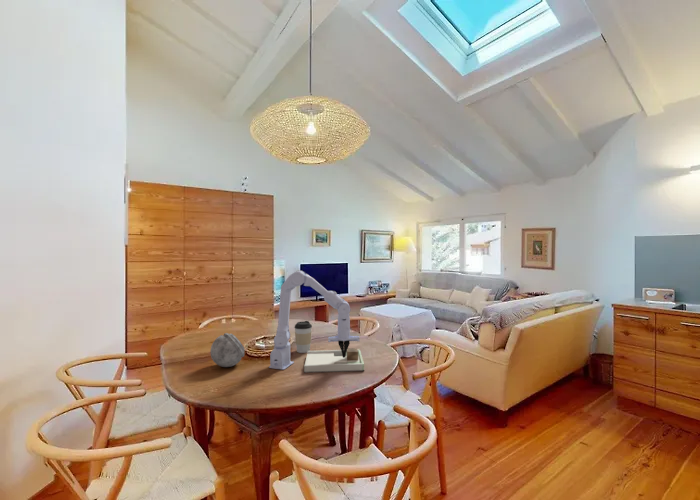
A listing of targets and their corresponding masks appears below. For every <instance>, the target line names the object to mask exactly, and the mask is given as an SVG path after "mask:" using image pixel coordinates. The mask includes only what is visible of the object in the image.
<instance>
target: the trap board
mask: <svg viewBox="0 0 700 500" xmlns="http://www.w3.org/2000/svg"><path fill="white" fill-rule="evenodd" d="M362 355H363V354H362V352H361V349H358V360H351V361H347V351H346V356H345V357H344V358H343V356H342V351H341V349H332V350H331V349H327V350H323V349H322V350H310V351H307V354H306V357H305V358H306V359H305V362H304V365H303V373H305V374H307V373H333V372H334V373H339V372H340V373H342V372H346V373H347V372H364V371H365V363H364V358H363V356H362Z"/></svg>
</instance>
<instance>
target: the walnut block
mask: <svg viewBox="0 0 700 500" xmlns="http://www.w3.org/2000/svg"><path fill="white" fill-rule="evenodd" d="M358 350H359V349H358V348H357V347H351V348H349V347H348V349H347V361H351V360H358Z"/></svg>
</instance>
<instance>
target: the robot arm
mask: <svg viewBox="0 0 700 500" xmlns="http://www.w3.org/2000/svg"><path fill="white" fill-rule="evenodd" d="M302 285H303V286H305V287H310V288H312V289H313V290H315V291H316V292H317V293H319V294H320V295H321V296H322V297H323V300H324V302H325V303H327V304H328V305H329V306H331V307H332V308H333V309H335V310H337V335H334V336H328V338H327V341H328V343H331V342H333V343H334V342H335V343H337V342H338V346H339V348H340V350H341V351H342V356H343V358H344V357H345V356H346V351H347V349H348V348H349V347H350V342H360V336H359V335H351V323H350V322H351V318H350V315H351V314H350V313H351V307H350V304H349V302H348V301H347V300H345V299H344V298H342V297H341V296H339V295H338V293H337V292H336V291H335V290H327V289H326V288H325V287H324V286H323V285H322V284H321V283H319V282H318V281H317V280H316V279H315V278H314V277H312V276H310V275H309V274H308V273H306V272H305V271H303V270H296V271H294V272H292V274H290V275H288V277H287V278H286V279H285V281H284V282H283V283H282V285H281V287H280V296H279V297H280V298H279V308H278V322H277V327H276V334H275V336H274V338H273V343H274V346H273V349H272V350H271V352H270V354H269V355H270V357H269V358H270V360H269V363H270V365H269V366H268V368H269V369H276V370H283V371H284V370H286V369H288V368H289V367H290V366H291V365H293V364H294V363H295V362H294V360H293V361H291V342H290V339H291V332H290V325H289V324H290V311H291V310H290V309H291V296H292V291H293V290H294V289H295V288H298V287H299V286H302Z"/></svg>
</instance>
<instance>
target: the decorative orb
mask: <svg viewBox="0 0 700 500" xmlns="http://www.w3.org/2000/svg"><path fill="white" fill-rule="evenodd" d="M245 351H246V349H245V347H244V345H243V343H242V342H241V341H240V340H239V338H238V337H237V336H236V335H234V333H228V332H225V333H224V334H223V335H222V334H221V335H218V337H216V338H215V340H214V341H213V343H212V344H211V347H210V357H211V360H212V361H213V363H215V364H216V365H217V366H219V367H223V368H231V367H233V366H236V365H237V364H238V363H240V362H241V361H242V358H244V356H245Z"/></svg>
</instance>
